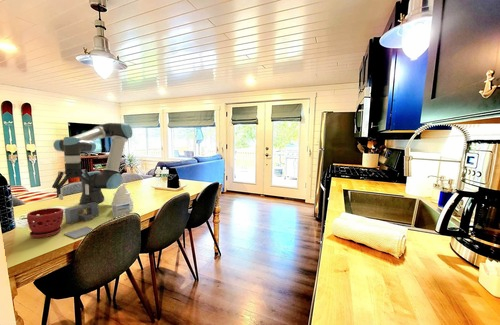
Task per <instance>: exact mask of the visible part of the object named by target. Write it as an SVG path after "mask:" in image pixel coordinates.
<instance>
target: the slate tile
mask: <svg viewBox="0 0 500 325" xmlns="http://www.w3.org/2000/svg"><path fill="white" fill-rule="evenodd" d="M93 229H94V228H92V227H89V226H84V227H80V228H77V229H74V230H72V231H67V232H65V233H64V234H63V235H65V236H67V237H69V238H72V239H74V240H76V239H79V238H82V237H85V236H88V235H89V234H88V233H89V232H90V231H91V230H93ZM87 234H88V235H87Z"/></svg>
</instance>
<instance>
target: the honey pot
mask: <svg viewBox="0 0 500 325" xmlns="http://www.w3.org/2000/svg"><path fill="white" fill-rule="evenodd" d="M127 185H128V184H127V182H124V183H122V185H120V186H119V187H118V188H116V189H117V190H116V192H114V193H113V198H112V201H111V212H112V213H113V206H114V205H118V204H122V203H129V205H130V211H132V210H134V200H133V198H132V196H131V193H132V192H131V191H130V190H128V188H127V187H126V186H127Z"/></svg>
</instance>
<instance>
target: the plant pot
mask: <svg viewBox="0 0 500 325" xmlns="http://www.w3.org/2000/svg"><path fill="white" fill-rule="evenodd" d="M63 219H64V209H63V208H60V207H47V208H40V209H37V210H32V211H29V212H28V213H27V214H26V220H27V221H26V222H27V224H28V225H27V226H28V228H29V230H30V232H29V236H30V237H31V238H35V239H38V238H39V239H40V238H47V237H50V236H54V235H56V234H58V233H59V232H61V231H62V227H61V226H62V223H63Z"/></svg>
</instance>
